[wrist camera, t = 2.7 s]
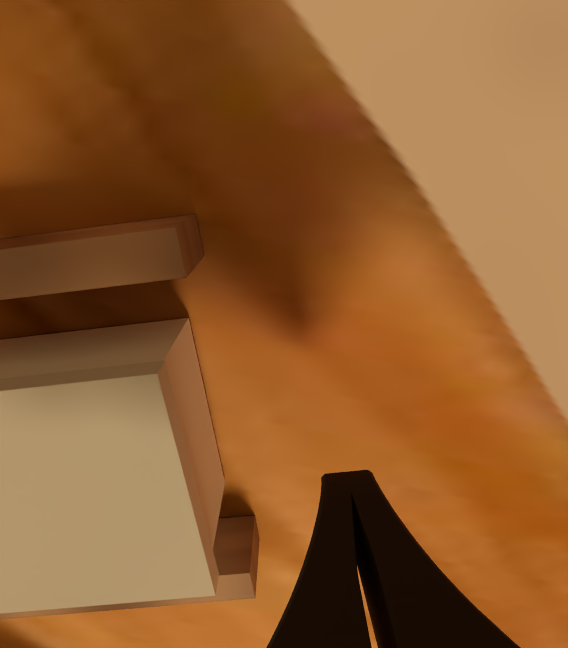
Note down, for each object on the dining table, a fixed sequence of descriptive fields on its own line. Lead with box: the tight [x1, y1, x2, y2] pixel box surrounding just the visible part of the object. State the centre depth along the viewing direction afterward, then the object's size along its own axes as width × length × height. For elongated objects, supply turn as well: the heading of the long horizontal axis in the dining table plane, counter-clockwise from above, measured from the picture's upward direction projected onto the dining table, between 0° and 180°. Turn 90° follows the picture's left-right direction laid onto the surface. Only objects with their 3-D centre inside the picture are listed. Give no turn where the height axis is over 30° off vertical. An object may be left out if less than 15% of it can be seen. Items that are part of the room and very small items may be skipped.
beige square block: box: [0, 318, 225, 614], centre depth 16 cm, size 9×9×5 cm
